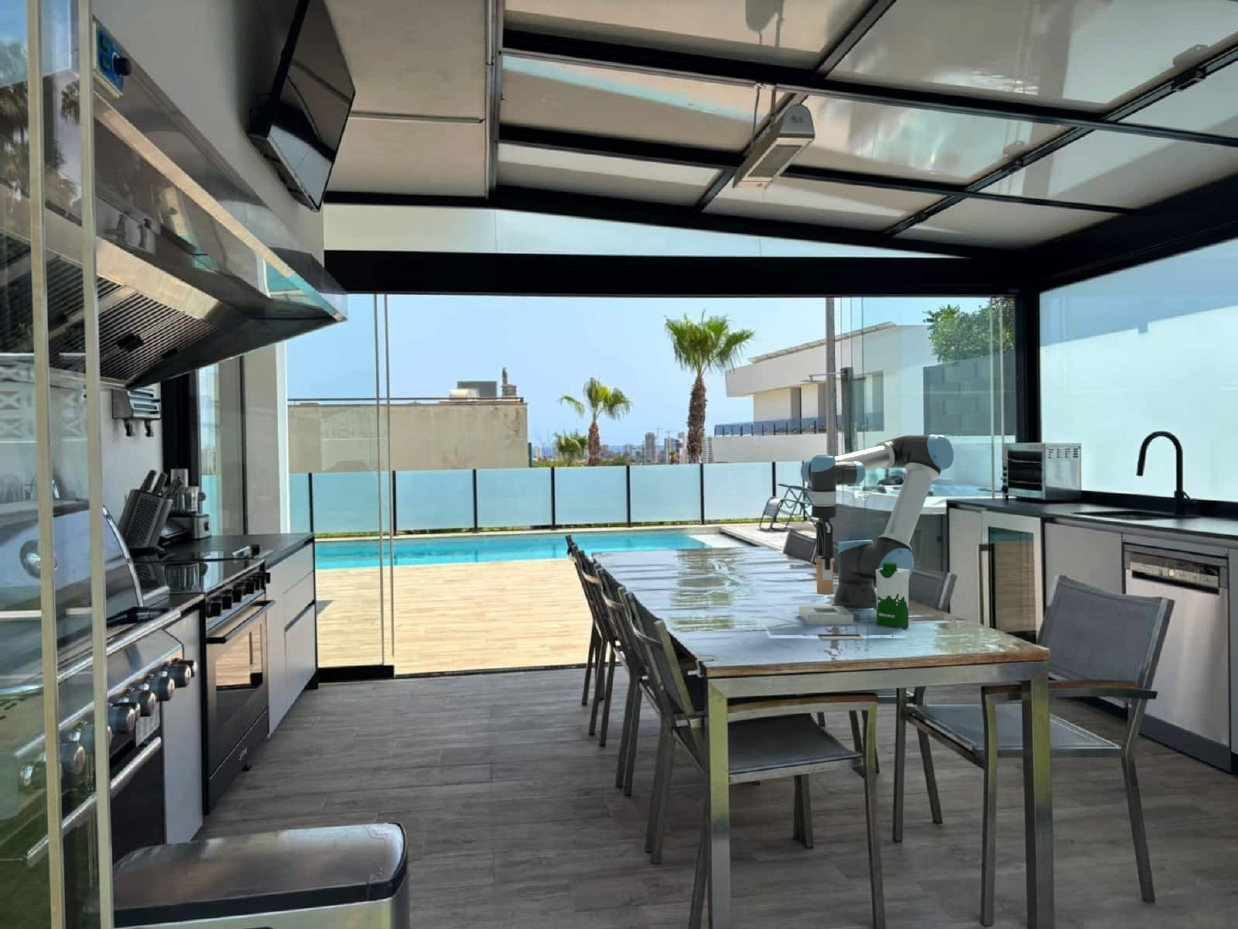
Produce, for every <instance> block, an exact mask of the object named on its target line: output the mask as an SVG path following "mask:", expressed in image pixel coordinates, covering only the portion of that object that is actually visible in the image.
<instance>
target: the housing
mask: <svg viewBox="0 0 1238 929" xmlns="http://www.w3.org/2000/svg"><path fill="white" fill-rule="evenodd" d="M798 606H799V605H798ZM798 610H799V611H798V615H799V617H800V618H801V619H802V621H804V623H806V625H808V626H811V625H812V626H820V625H821V626H825V625H827V626H828V625H829V626H830V625H831V626H832V625H833V626H834V625H835V626H836V625H837V626H839V625H842V626H845V625H847V626H848V625H851V626H852V625H855V624H854V623H855V622H854V613H852V612H850V610H849V609H848V608H844V607H843V606H833V605H800V606H799V607H798Z"/></svg>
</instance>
